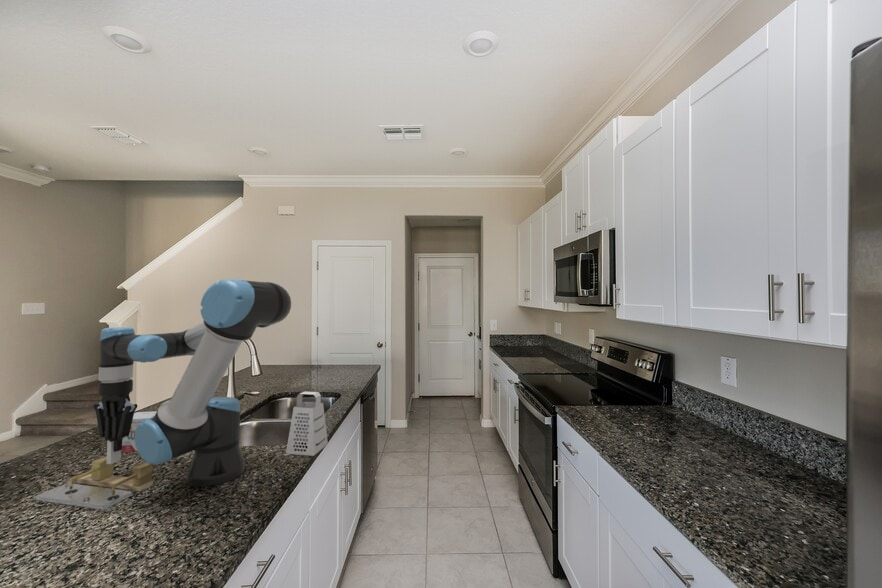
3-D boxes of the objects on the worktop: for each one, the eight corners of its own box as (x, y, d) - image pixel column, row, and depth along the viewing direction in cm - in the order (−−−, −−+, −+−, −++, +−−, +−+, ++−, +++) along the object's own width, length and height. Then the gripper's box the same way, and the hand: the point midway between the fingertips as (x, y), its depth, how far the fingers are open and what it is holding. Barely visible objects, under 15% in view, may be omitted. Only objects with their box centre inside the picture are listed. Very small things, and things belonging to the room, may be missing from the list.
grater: (313, 455, 124) (315, 397, 125) (285, 453, 126) (287, 395, 126) (327, 444, 134) (329, 390, 135) (302, 442, 136) (303, 388, 137)
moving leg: (113, 474, 105) (114, 457, 105) (73, 491, 96) (74, 472, 96) (105, 473, 106) (105, 456, 106) (65, 490, 96) (65, 471, 96)
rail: (152, 484, 103) (153, 462, 103) (116, 503, 93) (117, 478, 93) (91, 476, 107) (92, 455, 107) (50, 493, 97) (51, 470, 97)
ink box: (120, 453, 124) (122, 418, 124) (134, 444, 132) (135, 411, 132) (150, 450, 126) (151, 416, 126) (161, 441, 134) (162, 410, 135)
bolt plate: (131, 495, 97) (132, 490, 97) (103, 509, 90) (103, 504, 90) (67, 486, 101) (68, 481, 101) (35, 499, 94) (35, 494, 94)
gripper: (147, 378, 107) (145, 458, 107) (112, 376, 110) (109, 455, 109) (120, 383, 100) (118, 469, 99) (83, 382, 103) (80, 465, 102)
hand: (113, 461), depth 104 cm, fingers closed
